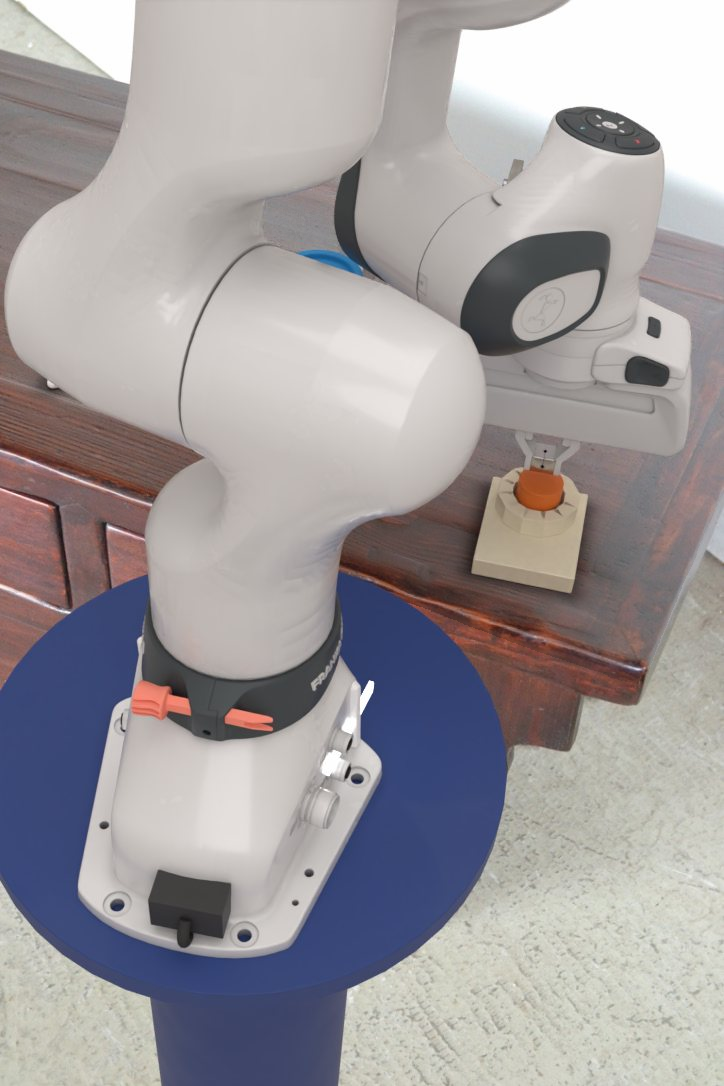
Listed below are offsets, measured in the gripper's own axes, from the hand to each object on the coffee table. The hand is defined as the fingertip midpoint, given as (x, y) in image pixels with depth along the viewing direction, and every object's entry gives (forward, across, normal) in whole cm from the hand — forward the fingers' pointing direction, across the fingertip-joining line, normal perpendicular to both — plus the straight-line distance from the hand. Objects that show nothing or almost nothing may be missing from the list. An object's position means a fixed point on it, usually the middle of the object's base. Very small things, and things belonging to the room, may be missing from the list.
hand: (542, 467), depth 107 cm
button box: (+6, 0, -2) cm, 6 cm away
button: (+3, 0, 0) cm, 3 cm away
